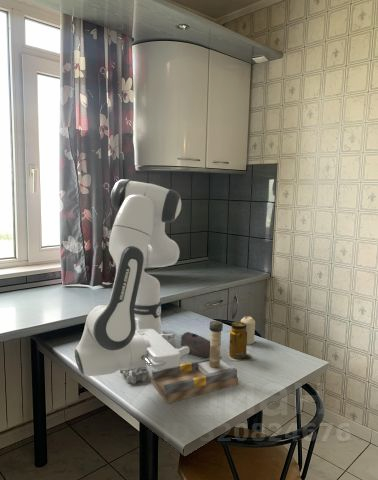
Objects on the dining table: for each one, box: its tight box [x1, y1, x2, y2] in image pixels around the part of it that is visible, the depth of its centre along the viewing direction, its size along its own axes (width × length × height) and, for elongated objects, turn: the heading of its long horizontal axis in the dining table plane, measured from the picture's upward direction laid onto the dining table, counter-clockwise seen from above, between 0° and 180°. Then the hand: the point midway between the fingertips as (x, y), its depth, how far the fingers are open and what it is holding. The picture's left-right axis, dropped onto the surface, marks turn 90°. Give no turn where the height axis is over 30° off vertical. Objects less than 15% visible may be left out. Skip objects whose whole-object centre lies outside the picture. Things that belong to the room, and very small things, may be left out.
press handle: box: [198, 320, 232, 375], centre depth 117 cm, size 8×7×16 cm
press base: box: [150, 355, 239, 404], centre depth 115 cm, size 24×12×4 cm, turn 117°
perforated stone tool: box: [180, 331, 210, 359], centre depth 133 cm, size 15×5×7 cm, turn 53°
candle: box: [240, 315, 256, 345], centre depth 146 cm, size 6×6×10 cm
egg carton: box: [119, 364, 150, 384], centre depth 119 cm, size 11×8×4 cm
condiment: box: [226, 321, 255, 362], centre depth 133 cm, size 7×8×12 cm
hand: (180, 342), depth 110 cm, fingers open, 8 cm apart
